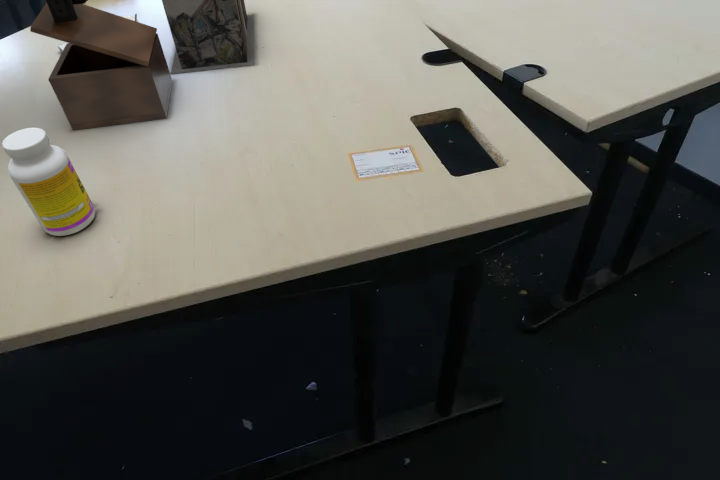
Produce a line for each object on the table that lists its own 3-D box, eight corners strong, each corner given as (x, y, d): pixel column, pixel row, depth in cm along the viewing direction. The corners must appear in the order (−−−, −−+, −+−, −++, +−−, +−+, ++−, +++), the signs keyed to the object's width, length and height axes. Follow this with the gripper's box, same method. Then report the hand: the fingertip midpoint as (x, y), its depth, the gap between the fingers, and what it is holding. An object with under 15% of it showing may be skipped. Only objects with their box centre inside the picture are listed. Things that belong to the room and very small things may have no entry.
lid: (30, 31, 75) (32, -6, 72) (52, -2, 85) (54, -36, 81) (147, 66, 82) (154, 34, 79) (156, 32, 91) (162, 2, 88)
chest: (72, 130, 87) (47, 79, 80) (88, 91, 96) (66, 43, 90) (166, 118, 88) (149, 67, 82) (172, 81, 97) (157, 33, 91)
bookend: (253, 14, 119) (239, -67, 107) (254, 64, 101) (237, -27, 89) (181, 21, 117) (159, -60, 106) (170, 73, 99) (141, -18, 88)
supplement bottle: (106, 218, 70) (64, 135, 61) (58, 245, 67) (6, 162, 58) (82, 198, 74) (39, 116, 65) (35, 223, 70) (-18, 140, 61)
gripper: (5, -141, 74) (58, -6, 86) (-39, -117, 61) (30, 37, 74) (62, -144, 75) (106, -10, 87) (29, -120, 62) (86, 32, 75)
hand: (71, 10), depth 80 cm, fingers closed on lid, 6 cm apart
